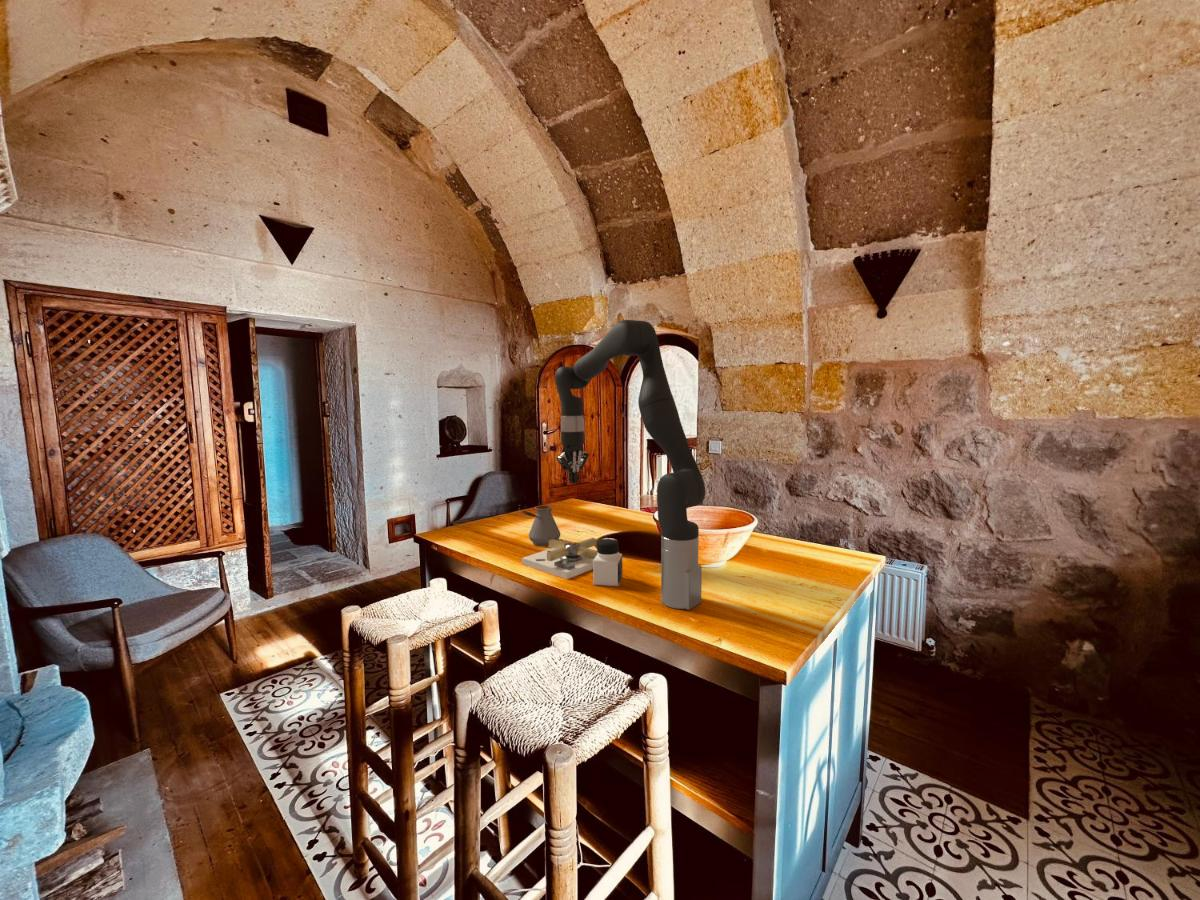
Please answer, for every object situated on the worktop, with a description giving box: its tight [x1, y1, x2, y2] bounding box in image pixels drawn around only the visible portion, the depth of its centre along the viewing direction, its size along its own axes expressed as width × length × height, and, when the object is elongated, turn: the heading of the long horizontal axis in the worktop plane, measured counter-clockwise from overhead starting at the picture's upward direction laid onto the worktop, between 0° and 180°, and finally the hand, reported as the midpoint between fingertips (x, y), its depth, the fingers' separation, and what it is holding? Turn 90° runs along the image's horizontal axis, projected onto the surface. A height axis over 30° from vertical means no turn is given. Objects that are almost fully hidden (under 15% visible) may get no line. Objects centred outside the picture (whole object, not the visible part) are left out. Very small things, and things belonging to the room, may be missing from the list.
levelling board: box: [521, 547, 594, 580], centre depth 155 cm, size 20×19×4 cm
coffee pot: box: [518, 505, 561, 546], centre depth 172 cm, size 21×12×15 cm, turn 159°
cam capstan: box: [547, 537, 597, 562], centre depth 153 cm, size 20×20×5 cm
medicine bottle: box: [592, 537, 623, 587], centre depth 139 cm, size 7×7×12 cm
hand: (573, 483), depth 160 cm, fingers closed
